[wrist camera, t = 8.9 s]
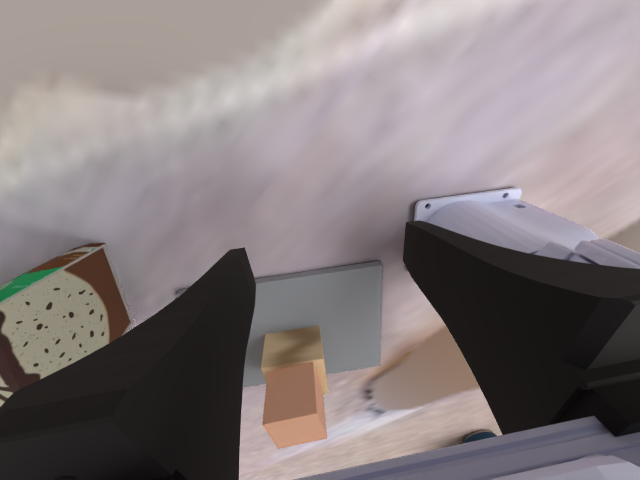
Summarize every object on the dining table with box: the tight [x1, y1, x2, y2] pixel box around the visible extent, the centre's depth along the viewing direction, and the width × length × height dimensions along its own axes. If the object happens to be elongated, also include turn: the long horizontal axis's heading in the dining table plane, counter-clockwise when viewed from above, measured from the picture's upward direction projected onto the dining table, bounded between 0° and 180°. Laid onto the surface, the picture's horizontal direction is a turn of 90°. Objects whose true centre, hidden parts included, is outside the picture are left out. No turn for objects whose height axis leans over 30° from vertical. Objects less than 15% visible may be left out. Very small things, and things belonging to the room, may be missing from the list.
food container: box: [0, 243, 134, 407], centre depth 18 cm, size 12×6×10 cm, turn 174°
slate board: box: [176, 261, 383, 387], centre depth 27 cm, size 20×16×1 cm
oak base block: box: [261, 326, 329, 394], centre depth 26 cm, size 6×6×4 cm
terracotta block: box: [263, 362, 327, 449], centre depth 22 cm, size 4×4×4 cm
